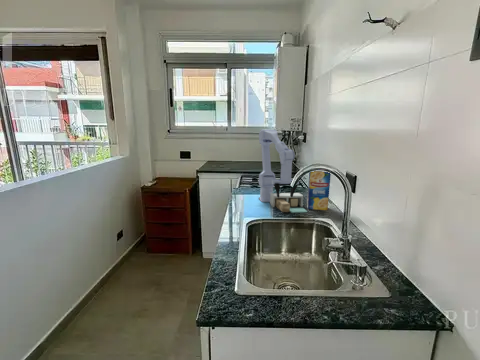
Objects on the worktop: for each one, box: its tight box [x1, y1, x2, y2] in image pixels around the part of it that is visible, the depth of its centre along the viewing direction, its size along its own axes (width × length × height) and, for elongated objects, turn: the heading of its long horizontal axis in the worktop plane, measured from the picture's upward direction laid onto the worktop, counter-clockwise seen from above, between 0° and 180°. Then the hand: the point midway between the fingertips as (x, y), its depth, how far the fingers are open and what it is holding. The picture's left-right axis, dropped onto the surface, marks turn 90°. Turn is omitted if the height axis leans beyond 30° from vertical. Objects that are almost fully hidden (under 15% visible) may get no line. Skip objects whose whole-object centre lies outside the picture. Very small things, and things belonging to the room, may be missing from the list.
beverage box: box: [306, 171, 332, 211], centre depth 154 cm, size 7×11×22 cm, turn 81°
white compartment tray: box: [269, 192, 304, 208], centre depth 160 cm, size 7×18×6 cm, turn 98°
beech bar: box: [275, 198, 291, 213], centre depth 153 cm, size 12×4×4 cm, turn 14°
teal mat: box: [289, 207, 308, 214], centre depth 150 cm, size 7×9×1 cm
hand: (284, 196), depth 148 cm, fingers open, 7 cm apart
